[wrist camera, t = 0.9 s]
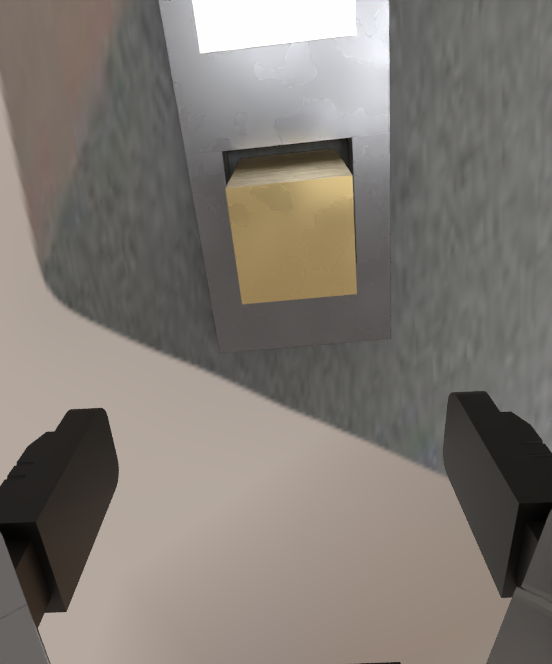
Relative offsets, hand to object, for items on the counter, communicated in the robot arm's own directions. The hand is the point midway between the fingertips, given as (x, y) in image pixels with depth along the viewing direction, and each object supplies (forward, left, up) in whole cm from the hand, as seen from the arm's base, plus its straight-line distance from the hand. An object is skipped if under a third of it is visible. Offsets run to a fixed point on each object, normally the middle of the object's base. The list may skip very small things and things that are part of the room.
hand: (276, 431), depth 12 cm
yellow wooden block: (-1, +1, -19) cm, 19 cm away
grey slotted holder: (-5, +1, -19) cm, 20 cm away
